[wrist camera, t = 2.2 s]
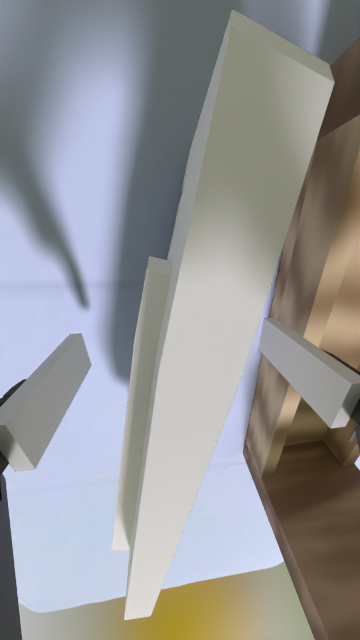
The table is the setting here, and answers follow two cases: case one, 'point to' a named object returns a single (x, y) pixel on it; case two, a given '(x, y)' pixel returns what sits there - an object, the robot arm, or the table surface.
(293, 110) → the shelf bracket
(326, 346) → the cradle
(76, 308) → the table surface
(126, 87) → the table surface
